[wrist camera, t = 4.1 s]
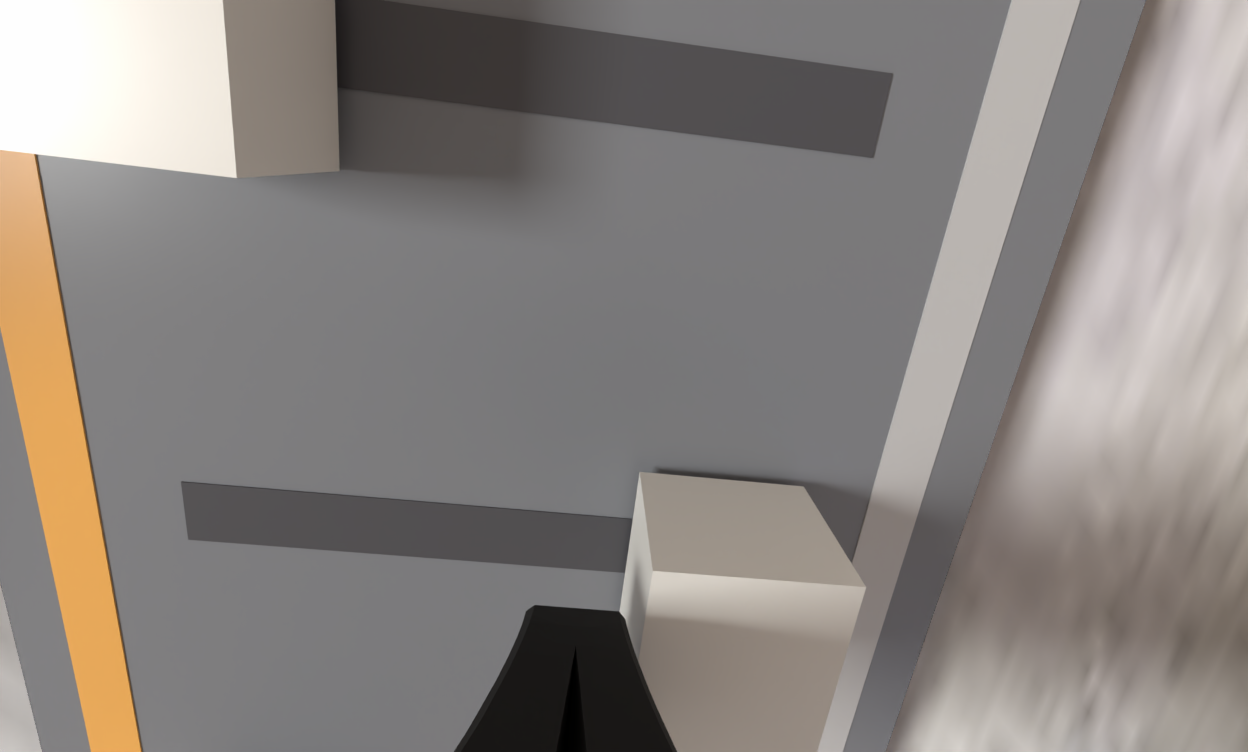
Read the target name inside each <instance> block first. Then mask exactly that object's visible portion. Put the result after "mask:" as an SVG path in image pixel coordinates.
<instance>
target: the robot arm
mask: <svg viewBox="0 0 1248 752" xmlns="http://www.w3.org/2000/svg"><path fill="white" fill-rule="evenodd" d="M454 752H677V750H676V748H675V746H674V744H673V742H672V739H671V737H670V735H669V733H668V731H667V729H666V726H665V724H664V722H663V720H662V718H661V716H660V713H659V711H658V709H657V707H656V704H655V702H654V700H653V697H652V695H651V693H650V690H649V688H648V685H647V683H646V680H645V678H644V675H643V673H642V670H641V667H640V665H639V662H638V659H637V657H636V654H635V651H634V648H633V645H632V642H631V639H630V635H629V632H628V628H627V625H626V620H625V618H624V617H623V616H622V615H621V613H620V612H619V611H608V610H595V609H582V608H569V607H555V606H542V605H534V606H532V607H531V608H530V609H528V610H527V611H526V613H525V616H524V620H523V623H522V626H521V628H520V631H519V633H518V636H517V638H516V640H515V643H514V645H513V647H512V649H511V651H510V654H509V656H508V658H507V660H506V662H505V664H504V666H503V668H502V670H501V672H500V674H499V676H498V678H497V679H496V681H495V683H494V685H493V687H492V688H491V690H490V692H489V694H488V695H487V697H486V699H485V701H484V702H483V704H482V706H481V708H480V709H479V711H478V713H477V715H476V716H475V718H474V720H473V722H472V723H471V725H470V727H469V728H468V730H467V732H466V733H465V735H464V737H463V738H462V740H461V741H460V743H459V744H458V746H457V747H456V749H455V750H454Z"/></svg>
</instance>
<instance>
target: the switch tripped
mask: <svg viewBox="0 0 1248 752" xmlns="http://www.w3.org/2000/svg"><path fill="white" fill-rule="evenodd" d="M865 589H866V586H865V584H864V583H863V581H862V580H861V578H860V576H859V575H858V573H857V572H856V570H855V568H854V567H853V565H852V564H851V562H850V560H849V559H848V557H847V555H846V554H845V552H844V551H843V549H842V547H841V546H840V544H839V543H838V541H837V539H836V538H835V536H834V535H833V533H832V531H831V530H830V528H829V526H828V525H827V523H826V522H825V520H824V518H823V517H822V515H821V514H820V512H819V510H818V509H817V507H816V505H815V504H814V502H813V501H812V499H811V497H810V496H809V494H808V493H807V491H806V489H805V488H804V486H793V485H782V484H771V483H759V482H748V481H737V480H726V479H714V478H703V477H692V476H680V475H669V474H658V473H647V472H640V473H639V480H638V487H637V494H636V500H635V507H634V514H633V521H632V528H631V535H630V542H629V549H628V556H627V563H626V570H625V577H624V584H623V590H622V597H621V604H620V611H619V612H620V613H621V615H622V616H623V617H624V618H625V620H626V625H627V628H628V632H629V635H630V639H631V642H632V645H633V648H634V651H635V654H636V657H637V659H638V662H639V665H640V667H641V670H642V673H643V675H644V678H645V680H646V683H647V685H648V688H649V690H650V693H651V695H652V697H653V700H654V702H655V704H656V707H657V709H658V711H659V713H660V716H661V718H662V720H663V722H664V724H665V726H666V729H667V731H668V733H669V735H670V737H671V739H672V742H673V744H674V746H675V748H676V750H677V752H817V751H818V747H819V744H820V740H821V737H822V734H823V730H824V727H825V724H826V720H827V717H828V714H829V710H830V707H831V704H832V700H833V697H834V693H835V690H836V687H837V683H838V680H839V677H840V673H841V670H842V667H843V663H844V660H845V657H846V653H847V650H848V647H849V643H850V640H851V636H852V633H853V630H854V626H855V623H856V620H857V616H858V613H859V610H860V606H861V603H862V600H863V596H864V593H865Z"/></svg>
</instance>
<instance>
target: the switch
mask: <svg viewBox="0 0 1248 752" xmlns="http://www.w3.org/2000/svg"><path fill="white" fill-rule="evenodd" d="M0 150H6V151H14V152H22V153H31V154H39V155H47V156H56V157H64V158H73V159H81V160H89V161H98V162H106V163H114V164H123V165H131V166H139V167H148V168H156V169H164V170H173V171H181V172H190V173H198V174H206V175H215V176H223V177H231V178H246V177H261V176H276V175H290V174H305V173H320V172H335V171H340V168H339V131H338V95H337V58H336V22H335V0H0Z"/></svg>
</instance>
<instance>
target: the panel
mask: <svg viewBox="0 0 1248 752" xmlns="http://www.w3.org/2000/svg"><path fill="white" fill-rule="evenodd" d="M1145 2H1146V0H335V22H336V58H337V95H338V131H339V168H340V171H335V172H320V173H305V174H290V175H276V176H261V177H246V178H231V177H223V176H215V175H206V174H198V173H190V172H181V171H173V170H164V169H156V168H148V167H139V166H131V165H123V164H114V163H106V162H98V161H89V160H81V159H73V158H64V157H56V156H47V155H39V154H31V153H22V152H14V151H6V150H0V583H1V588H2V592H3V596H4V600H5V604H6V608H7V612H8V616H9V620H10V624H11V628H12V632H13V636H14V640H15V644H16V648H17V652H18V656H19V660H20V664H21V668H22V672H23V676H24V680H25V684H26V688H27V692H28V696H29V700H30V704H31V708H32V712H33V716H34V720H35V724H36V728H37V733H38V737H39V741H40V745H41V749H42V752H454V750H455V749H456V747H457V746H458V744H459V743H460V741H461V740H462V738H463V737H464V735H465V733H466V732H467V730H468V728H469V727H470V725H471V723H472V722H473V720H474V718H475V716H476V715H477V713H478V711H479V709H480V708H481V706H482V704H483V702H484V701H485V699H486V697H487V695H488V694H489V692H490V690H491V688H492V687H493V685H494V683H495V681H496V679H497V678H498V676H499V674H500V672H501V670H502V668H503V666H504V664H505V662H506V660H507V658H508V656H509V654H510V651H511V649H512V647H513V645H514V643H515V640H516V638H517V636H518V633H519V631H520V628H521V626H522V623H523V620H524V616H525V613H526V611H527V610H528V609H530V608H531V607H532V606H534V605H542V606H555V607H569V608H582V609H595V610H608V611H620V604H621V597H622V590H623V584H624V577H625V570H626V563H627V556H628V549H629V542H630V535H631V528H632V521H633V514H634V507H635V500H636V494H637V487H638V480H639V473H640V472H647V473H658V474H669V475H680V476H692V477H703V478H714V479H726V480H737V481H748V482H759V483H771V484H782V485H793V486H804V488H805V489H806V491H807V493H808V494H809V496H810V497H811V499H812V501H813V502H814V504H815V505H816V507H817V509H818V510H819V512H820V514H821V515H822V517H823V518H824V520H825V522H826V523H827V525H828V526H829V528H830V530H831V531H832V533H833V535H834V536H835V538H836V539H837V541H838V543H839V544H840V546H841V547H842V549H843V551H844V552H845V554H846V555H847V557H848V559H849V560H850V562H851V564H852V565H853V567H854V568H855V570H856V572H857V573H858V575H859V576H860V578H861V580H862V581H863V583H864V584H865V586H866V589H865V593H864V596H863V600H862V603H861V606H860V610H859V613H858V616H857V620H856V623H855V626H854V630H853V633H852V636H851V640H850V643H849V647H848V650H847V653H846V657H845V660H844V663H843V667H842V670H841V673H840V677H839V680H838V683H837V687H836V690H835V693H834V697H833V700H832V704H831V707H830V710H829V714H828V717H827V720H826V724H825V727H824V730H823V734H822V737H821V740H820V744H819V747H818V751H817V752H886V749H887V746H888V744H889V741H890V738H891V735H892V732H893V729H894V726H895V723H896V720H897V718H898V715H899V712H900V709H901V706H902V703H903V700H904V697H905V694H906V692H907V689H908V686H909V683H910V680H911V677H912V674H913V671H914V668H915V666H916V663H917V660H918V657H919V654H920V651H921V648H922V645H923V642H924V640H925V637H926V634H927V631H928V628H929V625H930V622H931V619H932V617H933V614H934V611H935V608H936V605H937V602H938V599H939V596H940V593H941V591H942V588H943V585H944V582H945V579H946V576H947V573H948V570H949V567H950V565H951V562H952V559H953V556H954V553H955V550H956V547H957V544H958V541H959V539H960V536H961V533H962V530H963V527H964V524H965V521H966V518H967V515H968V513H969V510H970V507H971V504H972V501H973V498H974V495H975V492H976V489H977V487H978V484H979V481H980V478H981V475H982V472H983V469H984V466H985V464H986V461H987V458H988V455H989V452H990V449H991V446H992V443H993V440H994V438H995V435H996V432H997V429H998V426H999V423H1000V420H1001V417H1002V414H1003V412H1004V409H1005V406H1006V403H1007V400H1008V397H1009V394H1010V391H1011V388H1012V386H1013V383H1014V380H1015V377H1016V374H1017V371H1018V368H1019V365H1020V362H1021V360H1022V357H1023V354H1024V351H1025V348H1026V345H1027V342H1028V339H1029V336H1030V334H1031V331H1032V328H1033V325H1034V322H1035V319H1036V316H1037V313H1038V311H1039V308H1040V305H1041V302H1042V299H1043V296H1044V293H1045V290H1046V287H1047V285H1048V282H1049V279H1050V276H1051V273H1052V270H1053V267H1054V264H1055V261H1056V259H1057V256H1058V253H1059V250H1060V247H1061V244H1062V241H1063V238H1064V235H1065V233H1066V230H1067V227H1068V224H1069V221H1070V218H1071V215H1072V212H1073V209H1074V207H1075V204H1076V201H1077V198H1078V195H1079V192H1080V189H1081V186H1082V183H1083V181H1084V178H1085V175H1086V172H1087V169H1088V166H1089V163H1090V160H1091V158H1092V155H1093V152H1094V149H1095V146H1096V143H1097V140H1098V137H1099V134H1100V132H1101V129H1102V126H1103V123H1104V120H1105V117H1106V114H1107V111H1108V108H1109V106H1110V103H1111V100H1112V97H1113V94H1114V91H1115V88H1116V85H1117V82H1118V80H1119V77H1120V74H1121V71H1122V68H1123V65H1124V62H1125V59H1126V56H1127V54H1128V51H1129V48H1130V45H1131V42H1132V39H1133V36H1134V33H1135V30H1136V28H1137V25H1138V22H1139V19H1140V16H1141V13H1142V10H1143V7H1144V4H1145Z"/></svg>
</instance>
